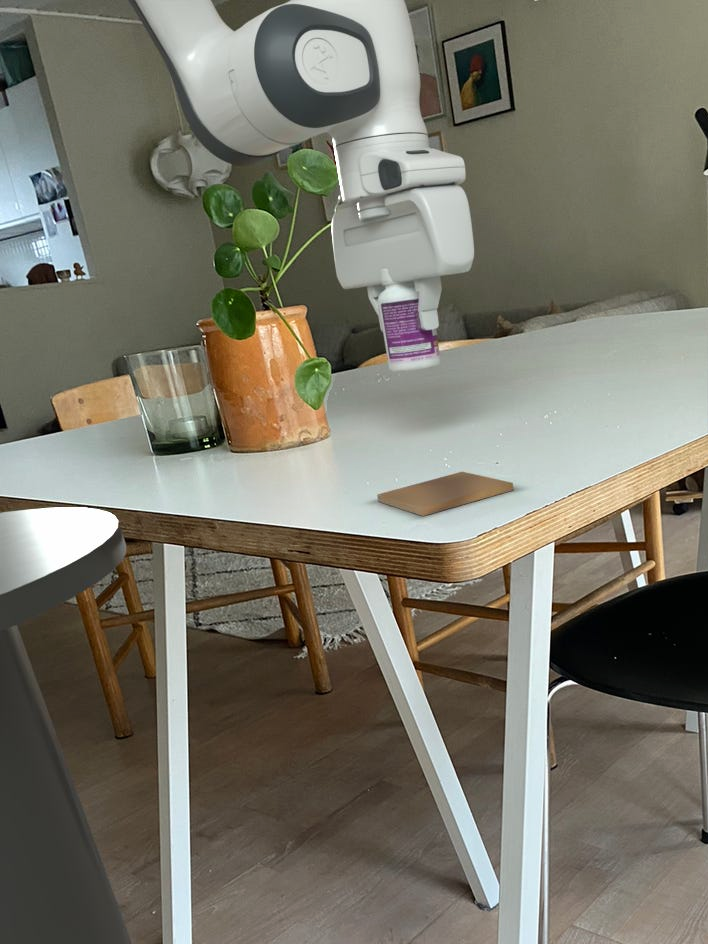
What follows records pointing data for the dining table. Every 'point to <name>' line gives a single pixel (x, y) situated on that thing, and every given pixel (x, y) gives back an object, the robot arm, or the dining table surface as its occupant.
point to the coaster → (444, 493)
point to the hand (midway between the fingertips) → (409, 330)
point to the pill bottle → (405, 328)
